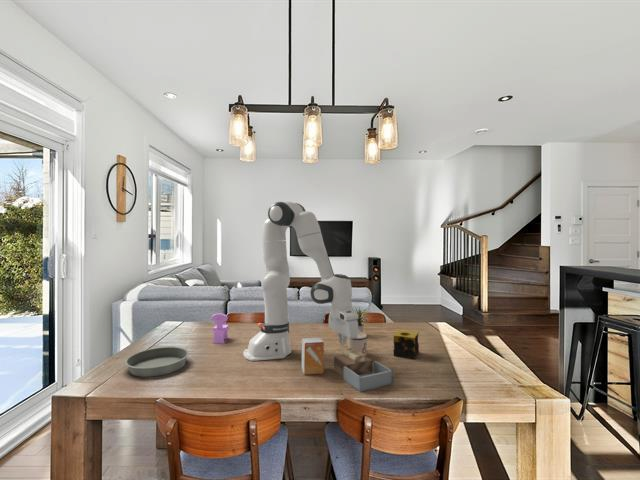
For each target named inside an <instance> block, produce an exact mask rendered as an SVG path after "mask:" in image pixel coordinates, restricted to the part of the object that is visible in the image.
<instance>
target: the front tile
mask: <svg viewBox="0 0 640 480" xmlns="http://www.w3.org/2000/svg"><path fill="white" fill-rule="evenodd" d="M349 360H351V361H352V362H354V363H358V362H364V355H363V354H362V353H360V352H353V353H349Z"/></svg>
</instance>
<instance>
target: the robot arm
mask: <svg viewBox="0 0 640 480" xmlns="http://www.w3.org/2000/svg"><path fill="white" fill-rule="evenodd" d="M267 217H268V219H266V220H265V221H264V222H263V227H262V253H263V260H264V264H265V269H266V270H265V271H266V275H264V277H263V278H262V282H261V288H262V295H263V303H264V322H263V323H262V322H259V323H257V327H258V328H260V331H259V332H257V334H255V335H254V336H252V338H250V340H249V342H248V347H247V348H246V349H244V350H243V353H242V354H243V356H244V358H245V359H246V360H248V361H251V362H254V361H257V362H258V361H265V360H278V359H285V358H286V357H288V355H289V354H292V347H291V344H290V336H289V334H290V322H289V303H288V295H287V294H288V293H287V291H288V289H287V288H288V287H290V283H291V276H290V275H291V274H290V270H289V268H290V266H289V262H288V252H287V251H288V250H287V249H288V248H287V237H286V236H287V235H286V233H287V230H288V228H289V229H292V228H294V231H295V233H296V237H297V242H298V246H299V248H300V250H301V252H302V253H303V254H304V255H306V256H308V257H309V258H311V259H312V260H313V261H314V262H315V264H316V266H317V269H318V271H319V276H320V281H319V282H317V283H315V284H313V285H312V286H311V287H310V298H311V299H312V301H313V302H314V303H315V304H319V305H320V304H321V305H324V304H329V303H331V309H330V313H329V314H328V328H329V329H330V330H332V331H334V332H336V333H337V337H338V340H339V341H338V342H339V344H342V345H346V344H347V340H348V338H349V339H354V338H357V336H358V321H357V320H356V319H358V314H357V311H355V310H354V308H353V302H352V297H353V296H352V295H353V292H352V289H353V288H352V281H351V278H350V277H349V276H347V275H345V274H343V273H342V274H339V273H338V274H337V273H334V270H333V267H332V264H331V261H330V257H329V255H328V251H327V249H326V246H325V243H324V239H323V234H322V231H321V226H320V223H319V222H318V219H317V217H316V215H315V213H313V212H312V211H310V210H309V211H308V210H306V209H305V207H304V206H303V205H302V204H300V203H297V202H292V201H278V202H274V203H273V204H271V205H270V206H269V208H268V211H267Z"/></svg>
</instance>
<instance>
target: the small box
mask: <svg viewBox="0 0 640 480" xmlns="http://www.w3.org/2000/svg"><path fill="white" fill-rule="evenodd" d="M324 345H325V342H324V340H323V339H322V337H319V336H318V337H305V338H303V337H302V338H301V371H302V373H303V375H304V376H306V375H315V374H316V375H317V374H318V375H319V374H324V365H325V364H324V359H325V358H324V356H325V355H324V352H325V351H324V350H325V348H324Z"/></svg>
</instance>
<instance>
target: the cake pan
mask: <svg viewBox="0 0 640 480" xmlns="http://www.w3.org/2000/svg"><path fill="white" fill-rule="evenodd" d="M189 355H190V352H189V351H188V350H187V349H185V348H183V347H178V346H161V347H160V346H159V347H155V348H154V347H153V348H148V349H144V350H140V351H138V352H136V353H133V354H132V355H129V356H128V357H127V358H126V359H125V360H124V364H125V366H126V367H128V371H129V373H130V374H131V375H132V376H136V377H147V378H148V377H157V376H158V377H159V376H163V375H167V374H170V373H173V372H176V371H178V370H180V369H181V368H183V367H184V366H185V364H186V360H187V358H188V357H189Z"/></svg>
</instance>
